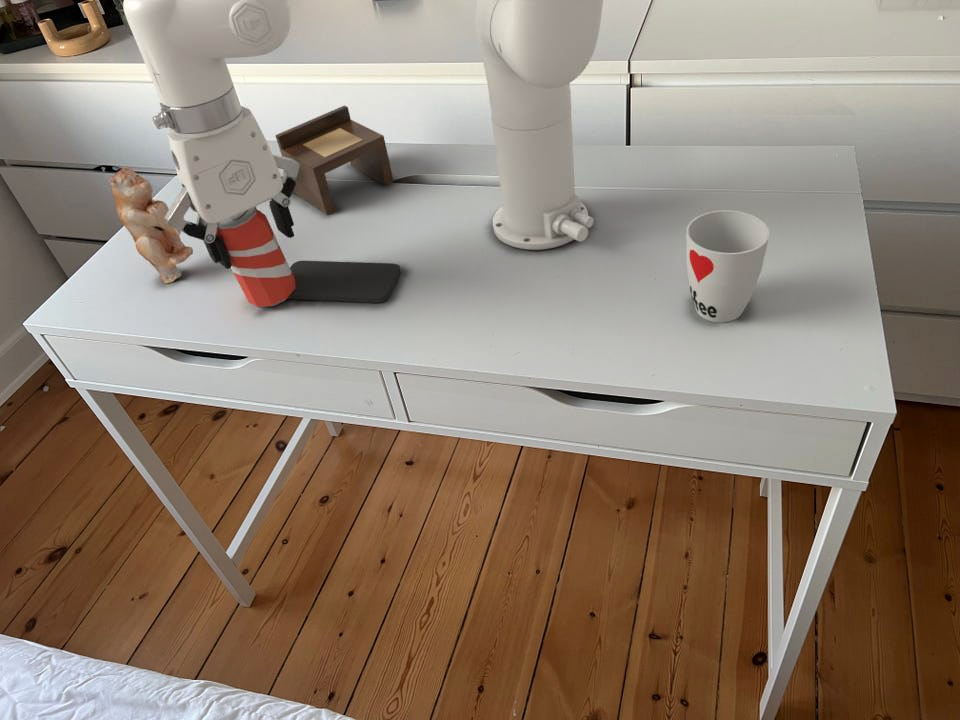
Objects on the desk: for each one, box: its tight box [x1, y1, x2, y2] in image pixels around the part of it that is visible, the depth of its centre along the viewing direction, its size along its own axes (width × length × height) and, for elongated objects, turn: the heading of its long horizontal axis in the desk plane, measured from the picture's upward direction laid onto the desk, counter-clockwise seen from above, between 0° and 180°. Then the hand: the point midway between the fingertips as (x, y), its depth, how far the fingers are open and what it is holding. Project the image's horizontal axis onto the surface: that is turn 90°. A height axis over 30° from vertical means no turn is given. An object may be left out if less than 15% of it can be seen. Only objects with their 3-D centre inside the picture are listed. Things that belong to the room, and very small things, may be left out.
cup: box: [685, 209, 770, 323], centre depth 82 cm, size 8×8×10 cm
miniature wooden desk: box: [275, 105, 395, 216], centre depth 114 cm, size 10×12×10 cm
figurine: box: [108, 165, 194, 284], centre depth 100 cm, size 6×8×15 cm
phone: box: [286, 260, 402, 304], centre depth 98 cm, size 7×1×15 cm
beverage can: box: [216, 206, 296, 308], centre depth 94 cm, size 6×6×12 cm
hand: (255, 248), depth 93 cm, fingers open, 7 cm apart
